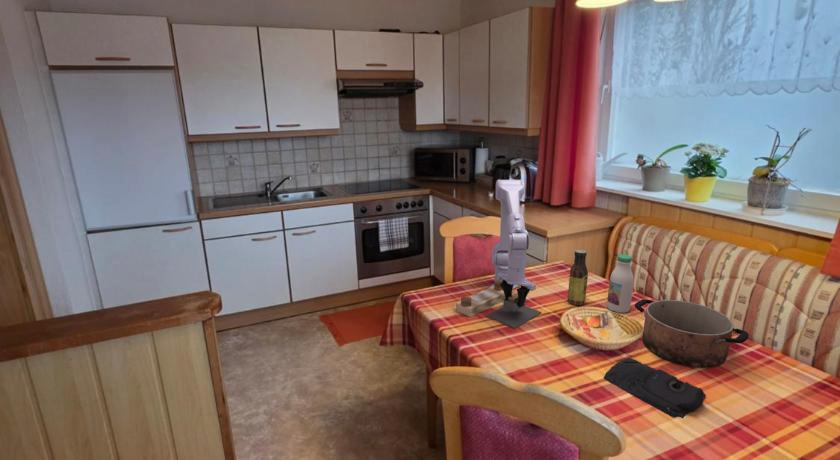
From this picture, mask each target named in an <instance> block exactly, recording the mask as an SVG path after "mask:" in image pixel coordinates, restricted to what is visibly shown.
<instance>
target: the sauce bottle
mask: <svg viewBox="0 0 840 460" xmlns="http://www.w3.org/2000/svg"><path fill="white" fill-rule="evenodd" d="M587 255H588V254H587V251H586V250H584V249H575V250H574V260H573V261H574V263H573V264H572V265H571V267H570V272H569V279H568V280H569V281H568V292H567V301H568V303H569V304H571V305H574V306H582V305H585V303H586V300H587V299H586V298H587V289H588V280H589V279H588V278H589V272H588V268H587V264H586V258H587Z"/></svg>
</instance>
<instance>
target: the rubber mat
mask: <svg viewBox="0 0 840 460" xmlns="http://www.w3.org/2000/svg"><path fill="white" fill-rule="evenodd" d="M541 314H542V311H539V310H537V309H535V308H531V307H529V306H524V307H522V308H520V309H518V310H516V311H515V312H513V311H510V310H508V309H505V308H503V306H502V307H500V308H498V309H495V310H494V311H492V312H490V313H488V314H486V315H485V318H488V319H491V320H493V321H495V322H498V323H500V324H502V325H505V326H507V327H510V328H512V329H514V330H515V329H517V328H519V327H520V326H522V325H524V324H525V323H528V322H529V321H531V320H533V319H534V318H537V317H538V316H540V315H541Z"/></svg>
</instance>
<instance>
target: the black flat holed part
mask: <svg viewBox="0 0 840 460" xmlns="http://www.w3.org/2000/svg"><path fill="white" fill-rule="evenodd" d="M603 379H604V380H605V381H606V382H608V383H609V384H612V385H613V386H616V387H618V388H619V389H620V390H623V391H624V392H626V393H628V394H629V395H631V396H633V397H635V398H636V399H638V400H640V401H642V402H644V403H646V404H648V405H649V406H651V407H653V408H655V409H656V410H658V411H660V412H662V413H664V414H666V415H668V416H669V417H671V418H676V417H677V418H681V419H684V418H685V417H686V416H687V415H688V414H690V413H694V412H695V411H697V410H698V409H699V408H700V407H702V405H703V403H704V400H705V399H706V397H707V395H706V394H705V392H704V390H703V389H702V388H701V387H697V386H696V385H693V384H690V383H689V382H688V381H686V382H684V381H682V380H680V379H678V377H676V376H675V375H672V374H669V373H668V372H666V371H664V370H662V369H656V368H653V367H651V366H649V365H646V364H644V363H642V362H640V361H639V360H637V359H634V358H632V357H625V358H623V359H621V360H620V361H618V362H617V363H615V364H614V365H613V366H611V367H610V368H609V369H608V371H606V372H605V374H604V376H603Z"/></svg>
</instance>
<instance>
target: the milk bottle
mask: <svg viewBox="0 0 840 460" xmlns="http://www.w3.org/2000/svg"><path fill="white" fill-rule="evenodd" d="M616 260H617V264H616V266H615V267H614V269H613V271H612V272H611V275H610V278H609V284H608V293H607V301H606V307H607V309H608V310H610V311H611V312H614V311H615V312H614V313H621V314H625V313H628V312H630V310H631V305H632V297H633V290H634V273H633V271H632V267H631V264H632V260H633V257H632V256H631V255H629V254H624V253H623V254H621V253H619V254H618V255H617V257H616Z"/></svg>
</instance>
